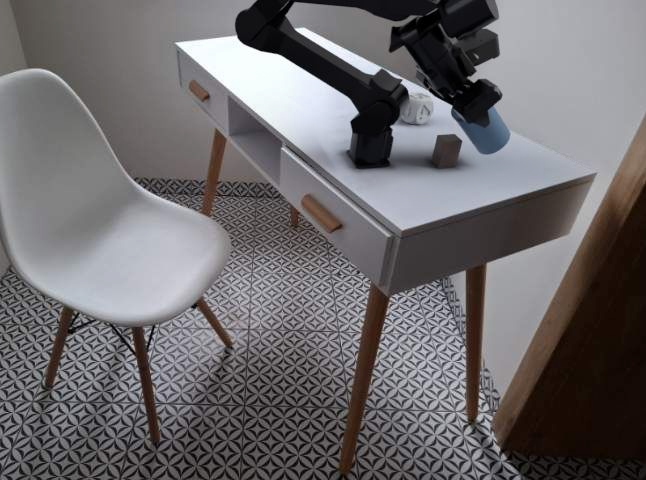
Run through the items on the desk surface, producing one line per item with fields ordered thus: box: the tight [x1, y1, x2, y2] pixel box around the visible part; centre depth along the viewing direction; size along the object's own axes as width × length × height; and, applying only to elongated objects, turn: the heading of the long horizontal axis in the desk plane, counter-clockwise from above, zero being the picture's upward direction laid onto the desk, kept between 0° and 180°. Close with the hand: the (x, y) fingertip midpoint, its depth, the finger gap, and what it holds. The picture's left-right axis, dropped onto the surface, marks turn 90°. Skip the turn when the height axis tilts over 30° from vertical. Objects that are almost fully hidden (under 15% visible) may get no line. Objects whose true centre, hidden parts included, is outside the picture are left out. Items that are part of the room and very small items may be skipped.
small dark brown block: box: [431, 133, 463, 169], centre depth 91 cm, size 3×3×5 cm
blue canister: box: [450, 105, 511, 156], centre depth 89 cm, size 11×6×11 cm, turn 102°
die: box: [400, 91, 435, 126], centre depth 107 cm, size 5×5×5 cm
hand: (477, 118), depth 88 cm, fingers closed on blue canister, 6 cm apart
